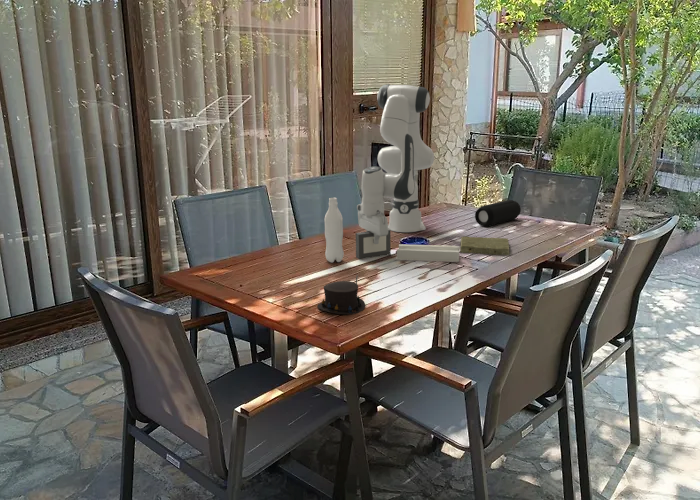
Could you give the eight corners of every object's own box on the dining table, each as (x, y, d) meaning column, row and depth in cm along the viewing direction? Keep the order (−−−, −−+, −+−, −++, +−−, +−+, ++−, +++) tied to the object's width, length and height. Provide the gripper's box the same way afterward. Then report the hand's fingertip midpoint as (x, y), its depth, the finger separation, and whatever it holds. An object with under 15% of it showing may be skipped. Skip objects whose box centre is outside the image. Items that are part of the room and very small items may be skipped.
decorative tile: (460, 243, 270) (460, 235, 269) (508, 244, 266) (508, 236, 265) (458, 254, 253) (459, 246, 252) (509, 256, 249) (510, 248, 248)
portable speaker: (505, 217, 316) (506, 197, 313) (521, 220, 308) (522, 200, 306) (473, 225, 300) (473, 205, 297) (489, 229, 293) (490, 208, 290)
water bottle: (335, 257, 250) (333, 195, 244) (347, 260, 245) (346, 198, 239) (321, 261, 246) (319, 198, 239) (334, 264, 241) (332, 200, 234)
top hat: (342, 320, 186) (342, 286, 183) (307, 308, 195) (306, 277, 193) (375, 306, 196) (374, 274, 194) (340, 296, 206) (339, 266, 203)
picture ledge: (399, 253, 254) (399, 244, 253) (459, 255, 249) (459, 246, 248) (396, 259, 245) (396, 250, 244) (458, 262, 241) (458, 252, 240)
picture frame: (355, 257, 250) (355, 233, 247) (387, 252, 256) (386, 229, 253) (359, 259, 247) (358, 234, 245) (390, 254, 253) (390, 230, 250)
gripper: (392, 212, 238) (392, 247, 242) (369, 203, 256) (369, 236, 260) (377, 214, 236) (377, 249, 240) (355, 204, 254) (355, 237, 258)
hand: (373, 242), depth 250 cm, fingers closed on picture frame, 3 cm apart
